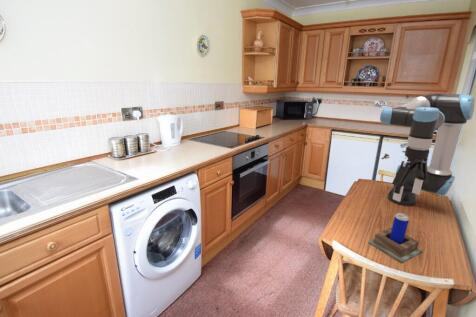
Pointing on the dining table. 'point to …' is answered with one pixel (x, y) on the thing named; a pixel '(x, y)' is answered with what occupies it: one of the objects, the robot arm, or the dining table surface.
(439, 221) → the dining table surface
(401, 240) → the beverage can
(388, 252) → the socket block
